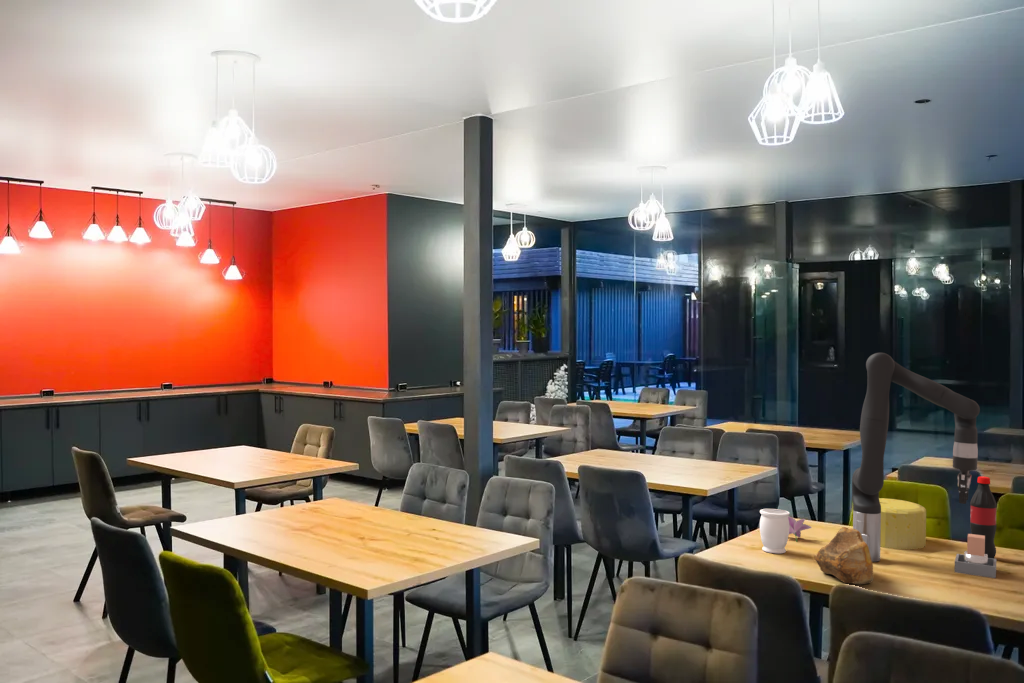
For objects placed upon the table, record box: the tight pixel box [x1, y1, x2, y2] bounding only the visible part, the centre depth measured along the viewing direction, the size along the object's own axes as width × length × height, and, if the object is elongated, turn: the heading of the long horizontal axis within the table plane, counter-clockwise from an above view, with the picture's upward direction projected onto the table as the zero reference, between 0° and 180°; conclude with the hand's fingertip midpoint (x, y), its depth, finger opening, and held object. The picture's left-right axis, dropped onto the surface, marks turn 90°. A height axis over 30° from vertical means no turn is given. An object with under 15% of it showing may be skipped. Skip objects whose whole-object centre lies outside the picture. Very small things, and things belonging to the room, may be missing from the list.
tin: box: [963, 550, 988, 565], centre depth 274 cm, size 7×7×6 cm
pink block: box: [966, 533, 985, 556], centre depth 274 cm, size 5×5×6 cm
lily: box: [788, 515, 812, 543], centre depth 317 cm, size 12×12×10 cm
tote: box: [954, 553, 997, 579], centre depth 274 cm, size 12×12×4 cm
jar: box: [759, 508, 790, 555], centre depth 300 cm, size 11×10×15 cm
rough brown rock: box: [814, 526, 874, 585], centre depth 268 cm, size 23×17×15 cm
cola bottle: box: [969, 475, 997, 559], centre depth 294 cm, size 8×8×30 cm
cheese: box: [879, 497, 927, 550], centre depth 318 cm, size 26×26×15 cm
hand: (963, 501), depth 280 cm, fingers open, 8 cm apart
